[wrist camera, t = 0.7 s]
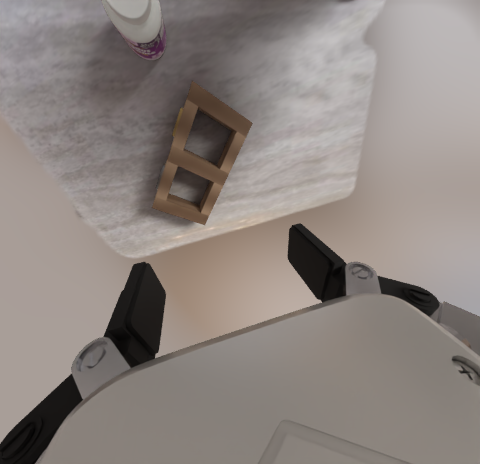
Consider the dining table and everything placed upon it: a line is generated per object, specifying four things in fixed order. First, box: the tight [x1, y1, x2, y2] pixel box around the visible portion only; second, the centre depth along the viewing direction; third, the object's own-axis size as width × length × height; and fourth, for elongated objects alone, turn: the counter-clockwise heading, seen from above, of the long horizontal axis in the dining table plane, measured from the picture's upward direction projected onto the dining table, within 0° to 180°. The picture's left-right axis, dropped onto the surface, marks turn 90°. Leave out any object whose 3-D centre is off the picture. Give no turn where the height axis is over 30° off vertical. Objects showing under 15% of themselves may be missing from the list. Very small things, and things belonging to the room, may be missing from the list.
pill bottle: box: [101, 0, 166, 60], centre depth 18 cm, size 5×5×10 cm
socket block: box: [152, 81, 252, 225], centre depth 30 cm, size 20×10×4 cm, turn 152°
